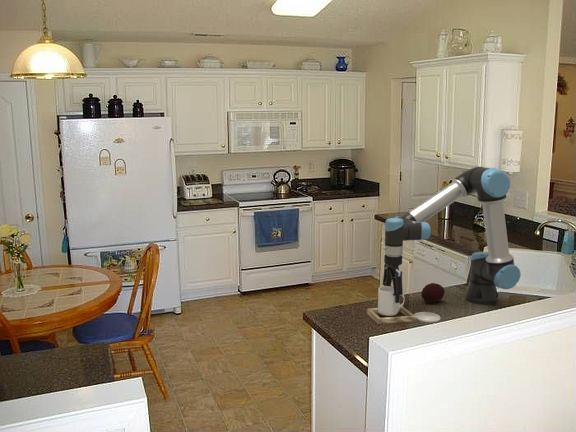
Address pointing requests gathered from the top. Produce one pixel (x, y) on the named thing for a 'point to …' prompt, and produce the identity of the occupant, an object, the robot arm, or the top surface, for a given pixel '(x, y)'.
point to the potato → (432, 292)
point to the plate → (427, 317)
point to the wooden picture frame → (407, 318)
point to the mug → (387, 301)
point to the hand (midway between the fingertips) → (391, 306)
